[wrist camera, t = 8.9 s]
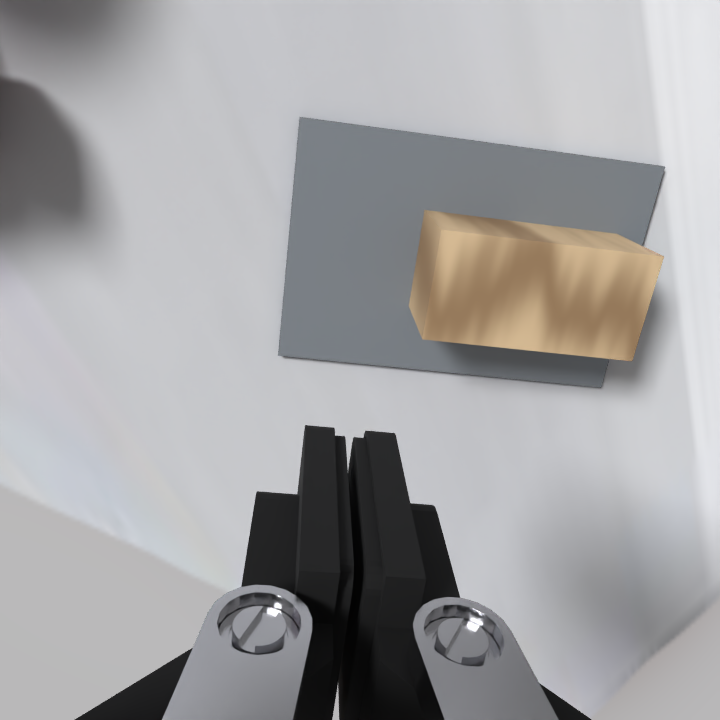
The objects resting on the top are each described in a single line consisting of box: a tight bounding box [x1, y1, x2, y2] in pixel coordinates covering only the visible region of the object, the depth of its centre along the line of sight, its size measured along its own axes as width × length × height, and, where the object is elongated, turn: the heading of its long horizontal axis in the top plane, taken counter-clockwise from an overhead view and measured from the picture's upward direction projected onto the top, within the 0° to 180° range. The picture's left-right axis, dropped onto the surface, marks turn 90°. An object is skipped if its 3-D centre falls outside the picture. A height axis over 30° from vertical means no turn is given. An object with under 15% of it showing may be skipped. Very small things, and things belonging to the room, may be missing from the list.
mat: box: [278, 117, 665, 388], centre depth 34 cm, size 12×18×1 cm, turn 83°
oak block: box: [409, 210, 664, 361], centre depth 32 cm, size 5×5×10 cm
